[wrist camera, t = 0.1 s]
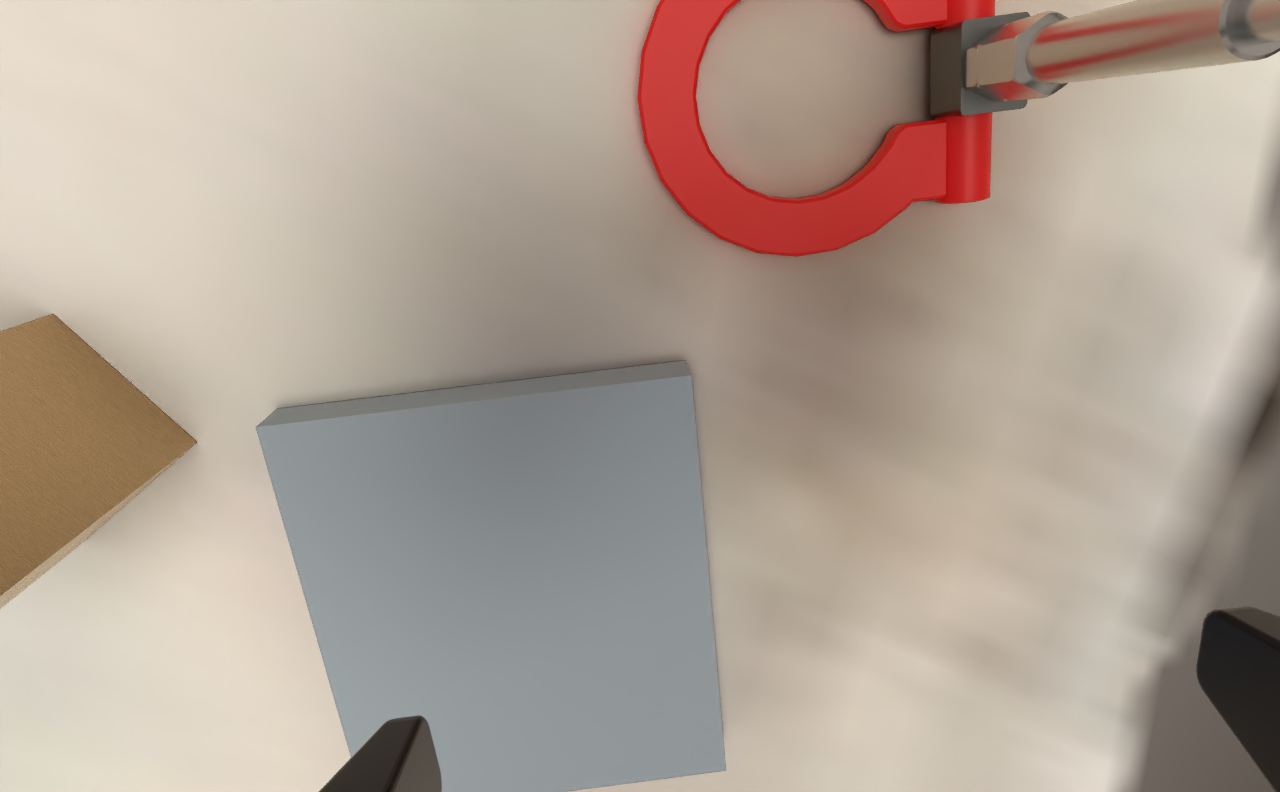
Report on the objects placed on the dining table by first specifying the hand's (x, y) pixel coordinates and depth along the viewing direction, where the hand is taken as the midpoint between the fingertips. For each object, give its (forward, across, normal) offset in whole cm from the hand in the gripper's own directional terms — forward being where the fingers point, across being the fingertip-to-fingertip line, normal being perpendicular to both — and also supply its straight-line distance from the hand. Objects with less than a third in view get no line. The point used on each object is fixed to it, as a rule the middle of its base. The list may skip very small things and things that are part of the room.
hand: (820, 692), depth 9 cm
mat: (+15, +6, +7) cm, 17 cm away
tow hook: (+15, -4, -7) cm, 17 cm away
